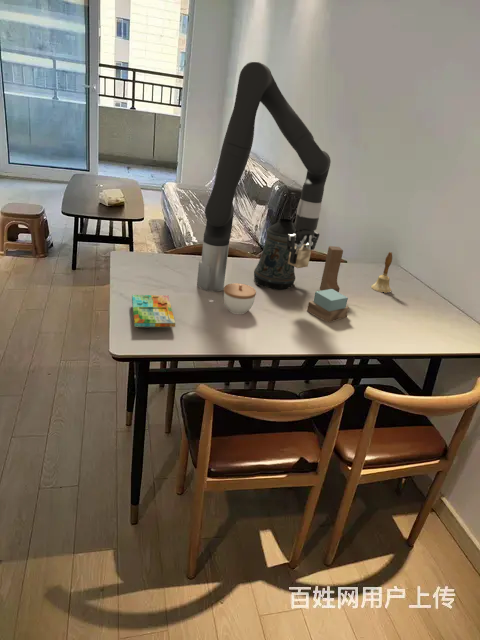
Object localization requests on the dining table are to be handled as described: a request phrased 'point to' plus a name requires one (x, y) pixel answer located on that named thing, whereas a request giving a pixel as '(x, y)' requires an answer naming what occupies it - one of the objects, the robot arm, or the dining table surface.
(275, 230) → the beer stein
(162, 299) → the puzzle game
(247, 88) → the robot arm
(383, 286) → the hand bell
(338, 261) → the wooden block
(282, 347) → the dining table surface
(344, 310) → the tower base
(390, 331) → the dining table surface
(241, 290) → the lidded jar
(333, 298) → the tower top
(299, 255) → the maple block
